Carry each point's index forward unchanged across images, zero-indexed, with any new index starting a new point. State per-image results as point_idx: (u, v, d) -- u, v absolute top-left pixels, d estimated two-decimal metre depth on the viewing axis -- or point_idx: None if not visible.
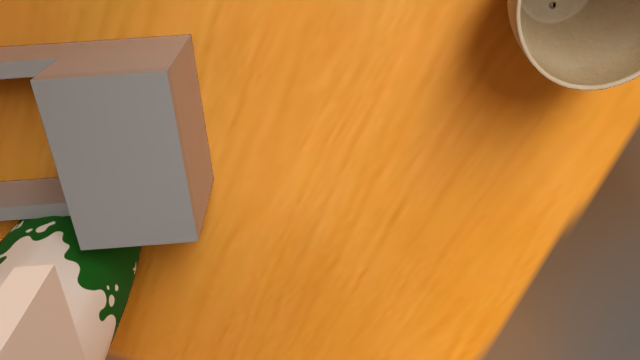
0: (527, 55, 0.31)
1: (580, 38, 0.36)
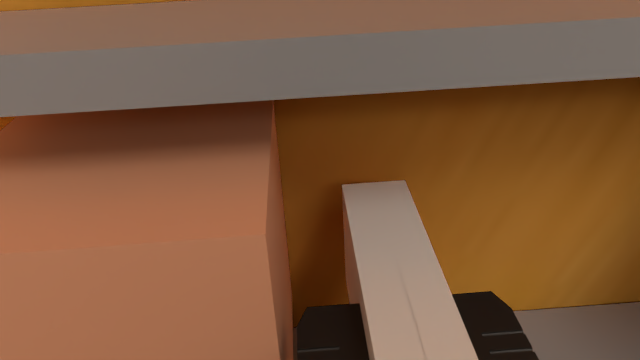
0: None
1: None
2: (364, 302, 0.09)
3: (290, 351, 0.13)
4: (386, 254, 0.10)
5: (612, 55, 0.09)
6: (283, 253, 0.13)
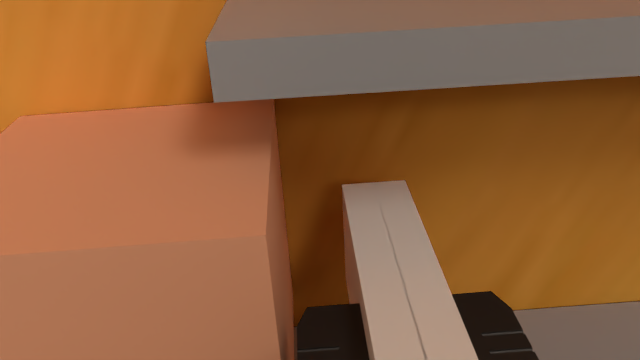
0: None
1: None
2: (364, 302, 0.09)
3: (291, 351, 0.13)
4: (386, 254, 0.10)
5: None
6: (284, 253, 0.13)
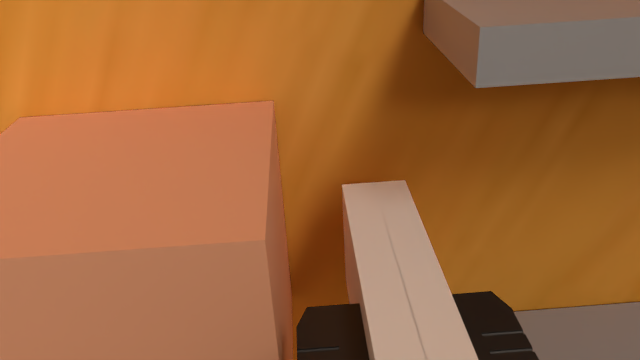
0: None
1: None
2: (364, 302, 0.09)
3: (290, 354, 0.13)
4: (386, 254, 0.10)
5: None
6: (283, 256, 0.13)
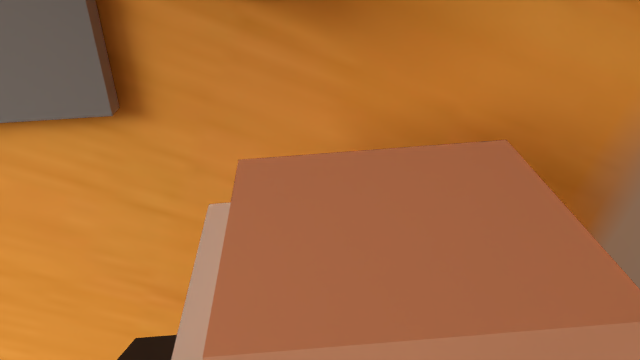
0: None
1: None
2: (178, 336, 0.09)
3: (515, 213, 0.10)
4: None
5: None
6: (390, 194, 0.11)
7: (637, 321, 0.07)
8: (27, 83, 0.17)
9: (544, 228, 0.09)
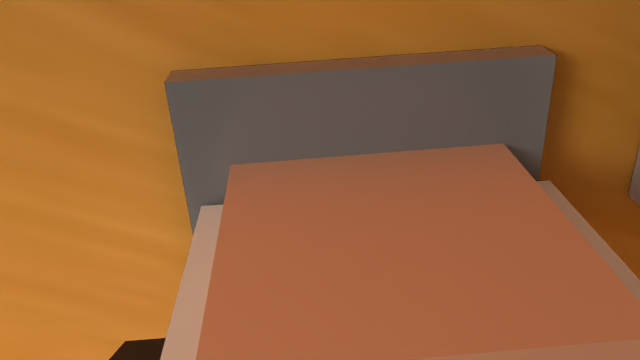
0: None
1: None
2: (167, 339, 0.09)
3: (512, 222, 0.10)
4: None
5: None
6: (385, 201, 0.10)
7: (638, 337, 0.07)
8: None
9: (543, 238, 0.09)
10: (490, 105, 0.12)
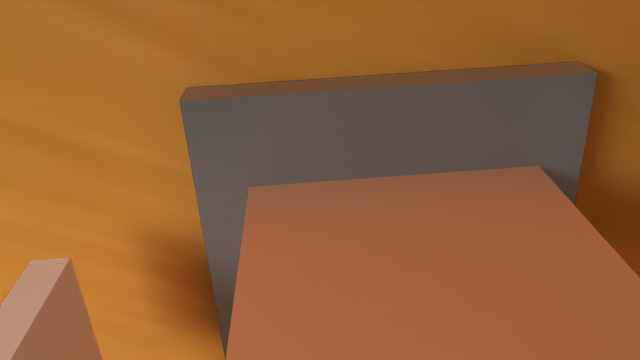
0: None
1: None
2: None
3: (557, 257, 0.09)
4: None
5: None
6: (417, 231, 0.10)
7: None
8: None
9: (592, 276, 0.08)
10: (525, 125, 0.11)
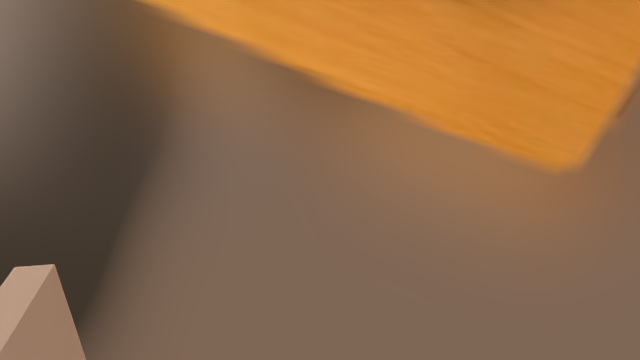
0: None
1: None
2: None
3: None
4: None
5: None
6: None
7: None
8: None
9: None
10: None
